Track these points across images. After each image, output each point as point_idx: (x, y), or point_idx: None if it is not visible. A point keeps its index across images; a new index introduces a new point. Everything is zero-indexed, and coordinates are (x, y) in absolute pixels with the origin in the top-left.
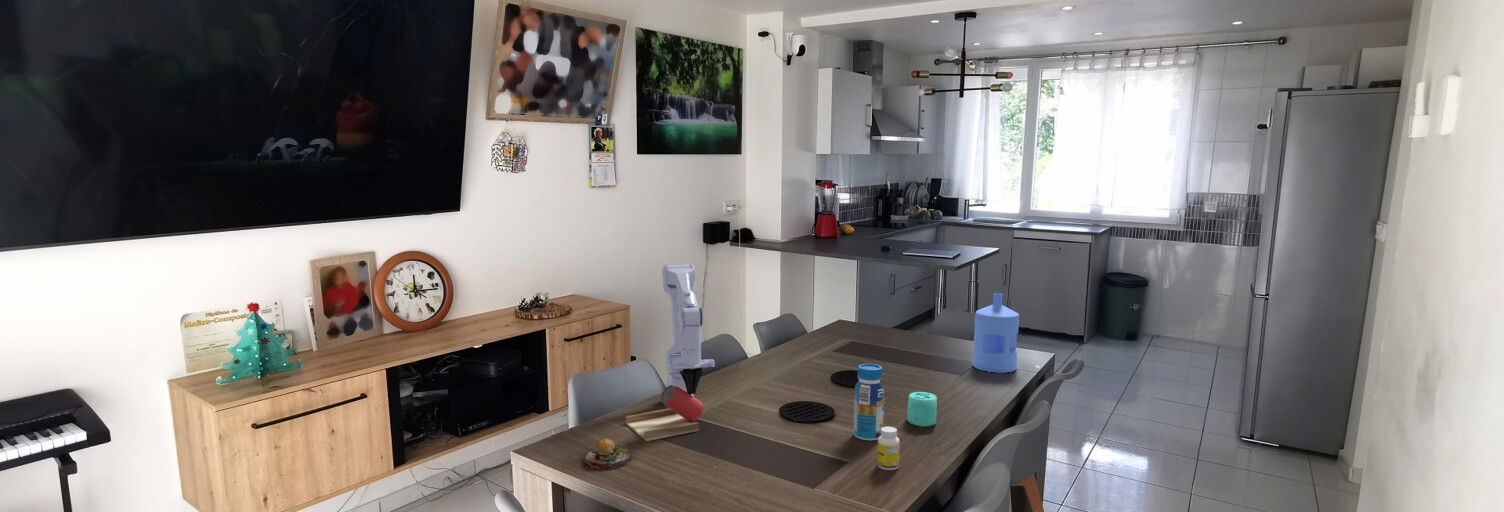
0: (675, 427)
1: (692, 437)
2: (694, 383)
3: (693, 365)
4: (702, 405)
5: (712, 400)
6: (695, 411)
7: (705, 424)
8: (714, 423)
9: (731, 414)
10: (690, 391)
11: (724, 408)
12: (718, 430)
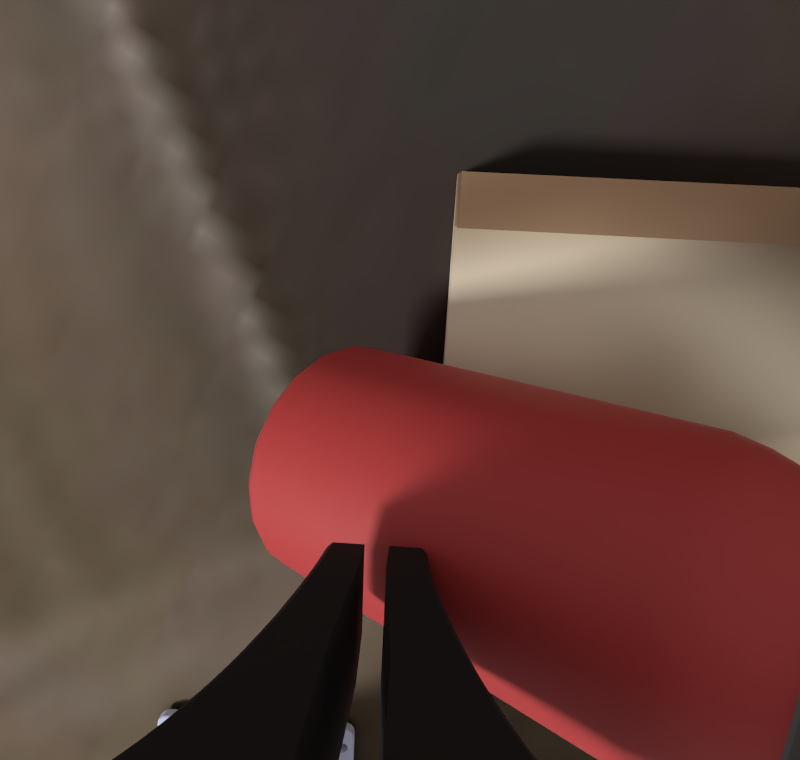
0: (743, 197)
1: (606, 39)
2: (324, 674)
3: None
4: (280, 416)
5: (41, 714)
6: (404, 362)
7: (320, 295)
8: (236, 272)
9: (6, 389)
10: (426, 571)
11: (13, 537)
12: (284, 74)
